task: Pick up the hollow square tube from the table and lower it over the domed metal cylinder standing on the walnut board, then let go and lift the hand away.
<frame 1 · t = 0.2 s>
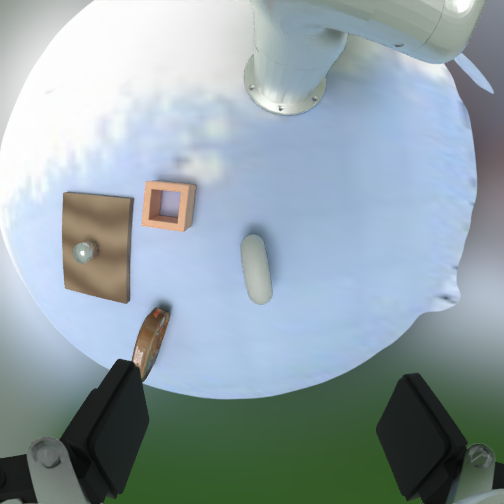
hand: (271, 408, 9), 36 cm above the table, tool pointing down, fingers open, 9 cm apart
tin: (155, 333, 49), on the table
board: (96, 246, 45), on the table
domed metal cylinder: (86, 251, 41), on the board, point 4 cm above the table
donut: (256, 259, 45), on the table
hollow square tube: (174, 203, 43), on the table
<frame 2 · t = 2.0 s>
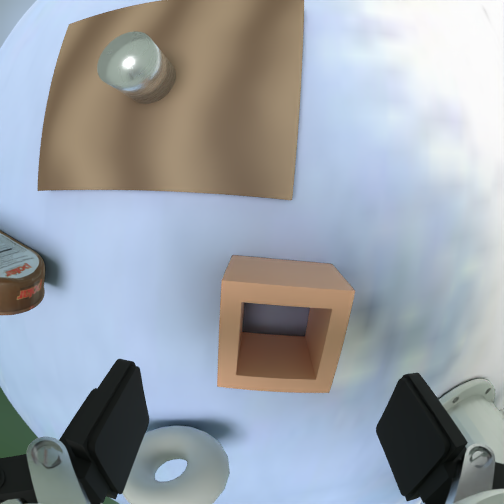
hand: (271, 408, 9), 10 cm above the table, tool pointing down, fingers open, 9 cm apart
tin: (12, 245, 19), on the table
board: (159, 87, 16), on the table
domed metal cylinder: (138, 69, 12), on the board, point 4 cm above the table
donut: (182, 428, 22), on the table
hollow square tube: (277, 306, 19), on the table
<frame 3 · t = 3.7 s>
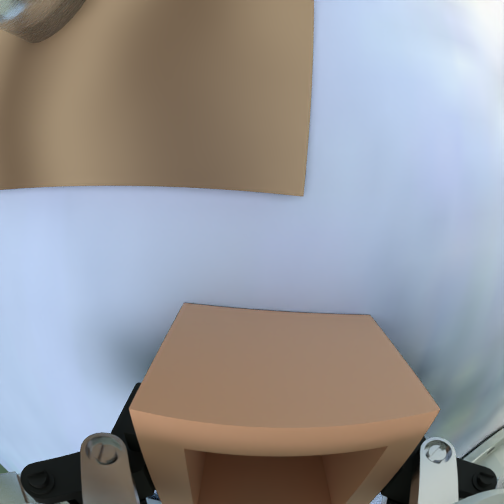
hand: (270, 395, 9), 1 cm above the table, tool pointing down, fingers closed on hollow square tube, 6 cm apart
board: (73, 21, 6), on the table
donut: (150, 497, 13), on the table
hollow square tube: (269, 384, 10), on the table, touching gripper
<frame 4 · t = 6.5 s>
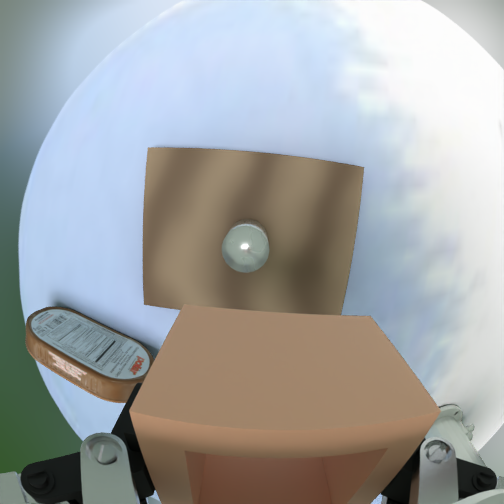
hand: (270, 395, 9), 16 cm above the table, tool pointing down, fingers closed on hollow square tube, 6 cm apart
tin: (104, 330, 28), on the table
board: (248, 235, 25), on the table
domed metal cylinder: (246, 243, 21), on the board, point 4 cm above the table
hollow square tube: (270, 385, 10), point 16 cm above the table, touching gripper
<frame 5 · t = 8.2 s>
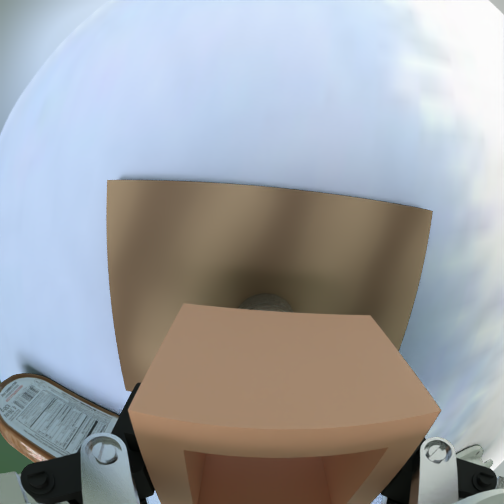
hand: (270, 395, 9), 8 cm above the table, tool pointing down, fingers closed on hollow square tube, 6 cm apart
tin: (84, 401, 20), on the table
board: (264, 308, 17), on the table
domed metal cylinder: (266, 339, 13), on the board, point 4 cm above the table
hollow square tube: (269, 385, 10), point 7 cm above the table, touching gripper
when the fingers open (4 cm above the table, at t = 9.5 s): hollow square tube drops 2 cm, resting on board.
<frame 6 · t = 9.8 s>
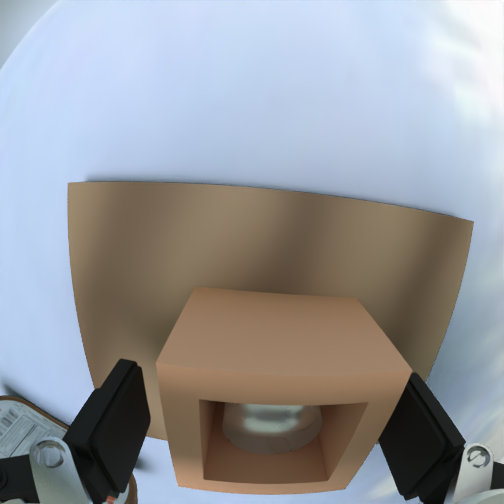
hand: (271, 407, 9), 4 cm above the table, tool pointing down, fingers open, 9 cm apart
tin: (67, 427, 16), on the table
board: (266, 342, 13), on the table
domed metal cylinder: (270, 390, 10), on the board, point 4 cm above the table
hollow square tube: (269, 361, 12), point 1 cm above the table, touching board
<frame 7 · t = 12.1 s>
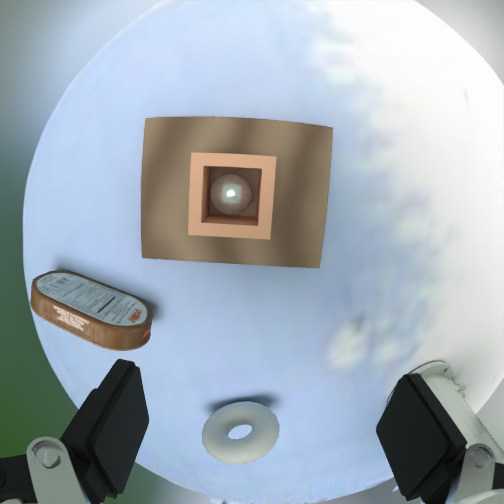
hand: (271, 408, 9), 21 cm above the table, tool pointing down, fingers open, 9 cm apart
tin: (104, 290, 30), on the table
board: (233, 190, 27), on the table
domed metal cylinder: (232, 192, 24), on the board, point 4 cm above the table
donut: (240, 404, 35), on the table
hollow square tube: (233, 191, 26), point 1 cm above the table, touching board
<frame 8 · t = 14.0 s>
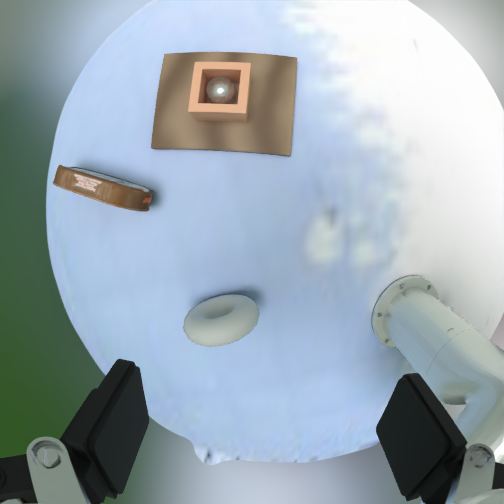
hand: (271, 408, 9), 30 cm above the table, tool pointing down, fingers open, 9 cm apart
tin: (115, 184, 37), on the table
board: (224, 100, 34), on the table
domed metal cylinder: (221, 93, 30), on the board, point 4 cm above the table
donut: (224, 302, 41), on the table
hollow square tube: (224, 98, 32), point 1 cm above the table, touching board
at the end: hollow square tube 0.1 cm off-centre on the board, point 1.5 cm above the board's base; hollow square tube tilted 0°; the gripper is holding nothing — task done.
